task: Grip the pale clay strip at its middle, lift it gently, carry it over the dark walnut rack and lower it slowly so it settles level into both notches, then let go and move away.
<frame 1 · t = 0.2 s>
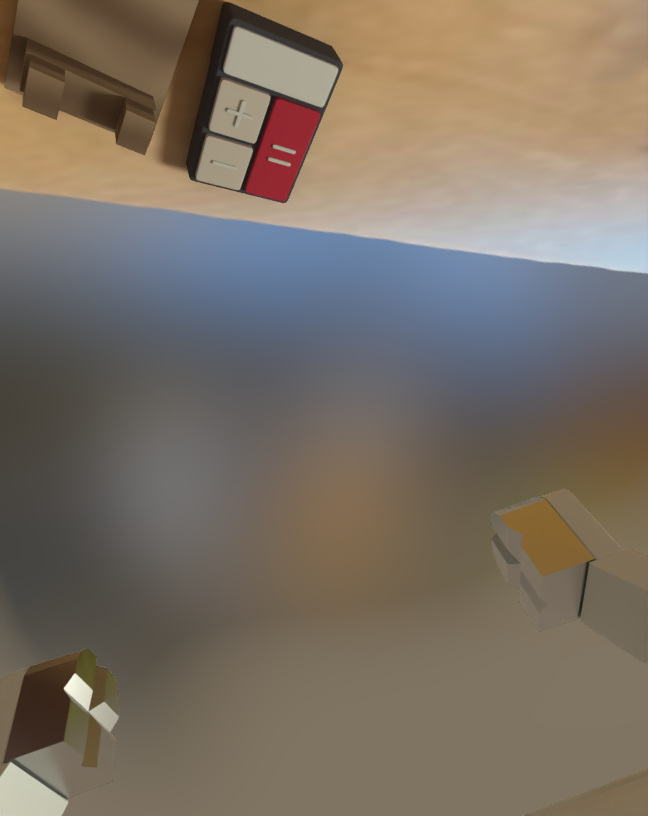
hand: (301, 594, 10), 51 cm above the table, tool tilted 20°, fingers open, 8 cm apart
calculator: (255, 107, 53), on the table
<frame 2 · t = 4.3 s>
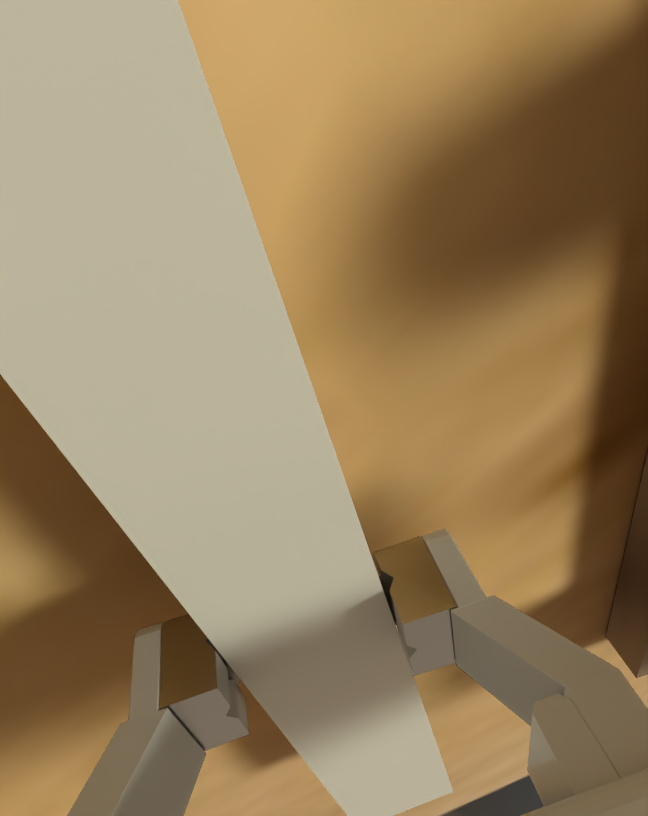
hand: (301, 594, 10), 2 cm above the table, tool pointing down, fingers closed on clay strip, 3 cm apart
clay strip: (285, 522, 12), on the table, touching gripper
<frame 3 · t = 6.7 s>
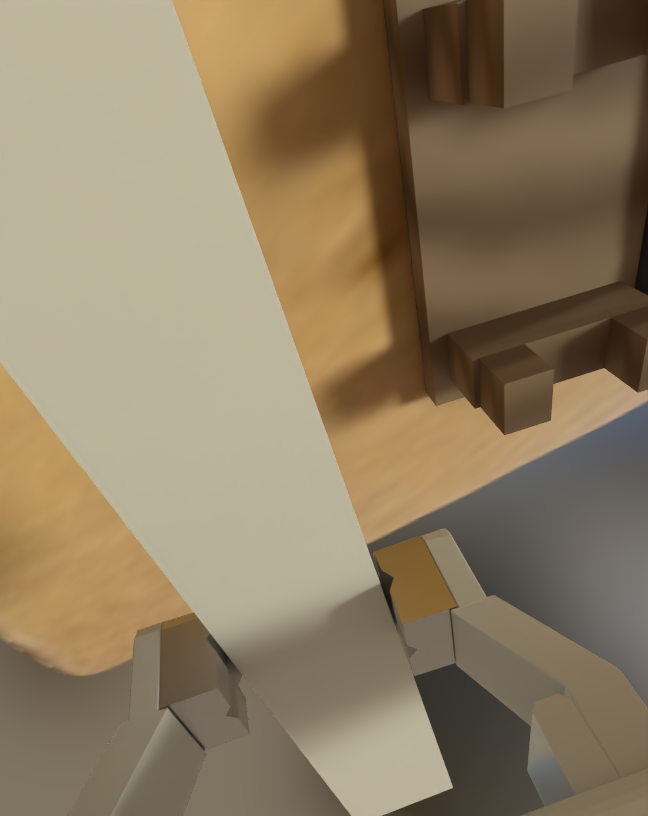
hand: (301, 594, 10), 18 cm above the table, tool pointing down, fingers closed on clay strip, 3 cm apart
clay strip: (285, 518, 12), point 16 cm above the table, touching gripper
rack: (521, 196, 26), on the table
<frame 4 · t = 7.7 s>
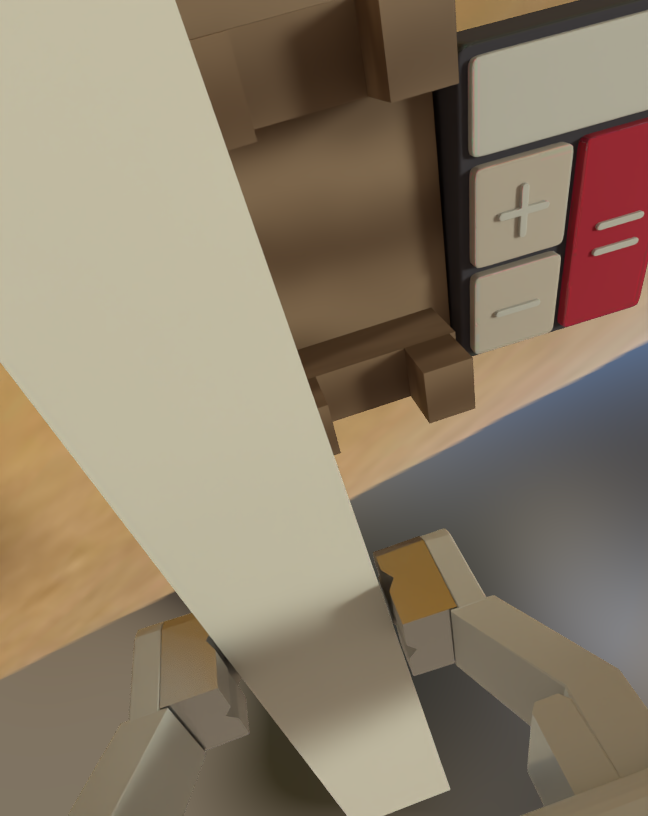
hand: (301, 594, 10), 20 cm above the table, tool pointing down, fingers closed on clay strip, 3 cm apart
clay strip: (284, 520, 12), point 17 cm above the table, touching gripper
calculator: (526, 185, 28), on the table
rack: (314, 226, 26), on the table
when the fingers open (7 cm above the table, at t = 10.2 s): clay strip stays where it is, resting on rack.
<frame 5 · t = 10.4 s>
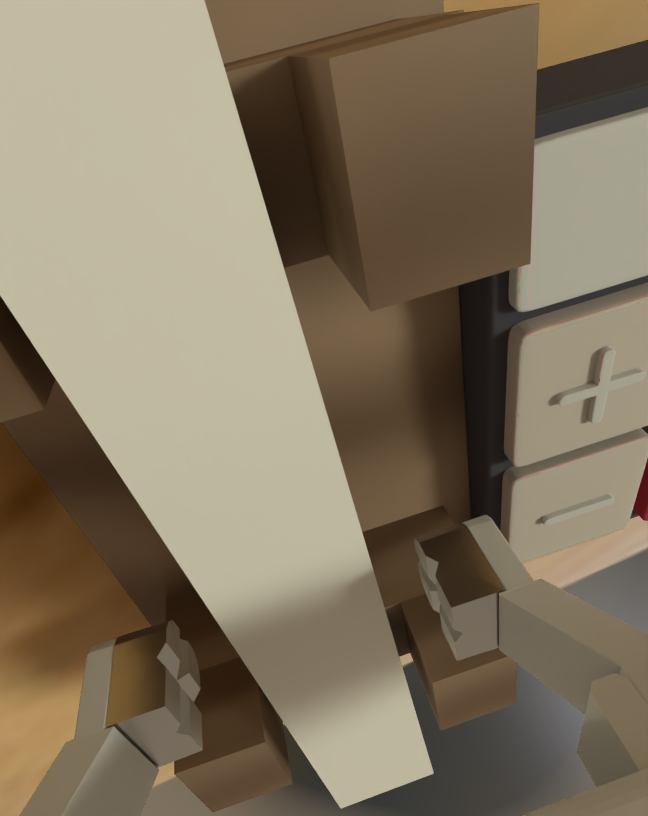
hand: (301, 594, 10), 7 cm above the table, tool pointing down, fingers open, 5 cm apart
clay strip: (279, 503, 12), point 4 cm above the table, touching rack
calculator: (589, 310, 18), on the table
rack: (257, 400, 16), on the table
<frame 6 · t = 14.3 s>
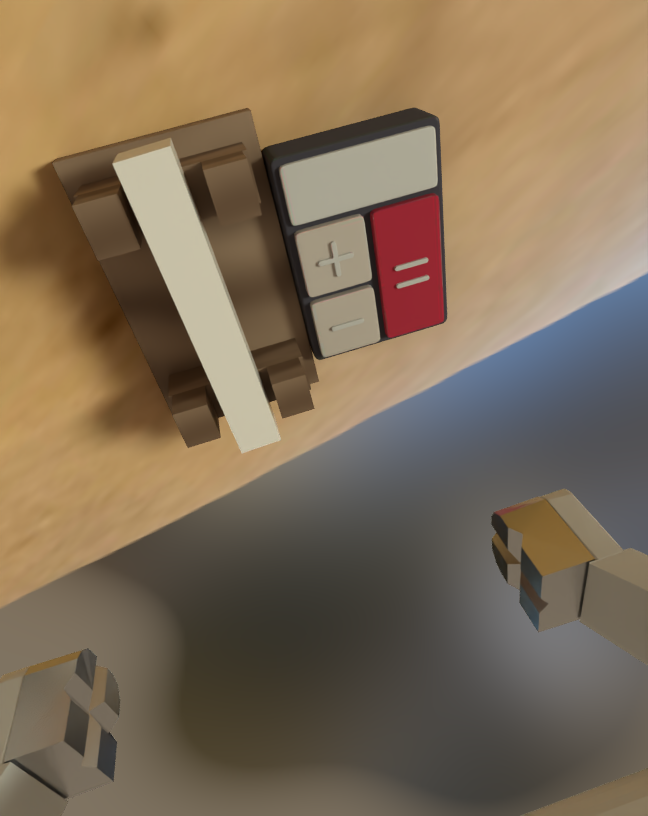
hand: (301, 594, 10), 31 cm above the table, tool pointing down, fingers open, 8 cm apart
clay strip: (209, 308, 34), point 4 cm above the table, touching rack
calculator: (356, 236, 39), on the table
rack: (207, 283, 38), on the table
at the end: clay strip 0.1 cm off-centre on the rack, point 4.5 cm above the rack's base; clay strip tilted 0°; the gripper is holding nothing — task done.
